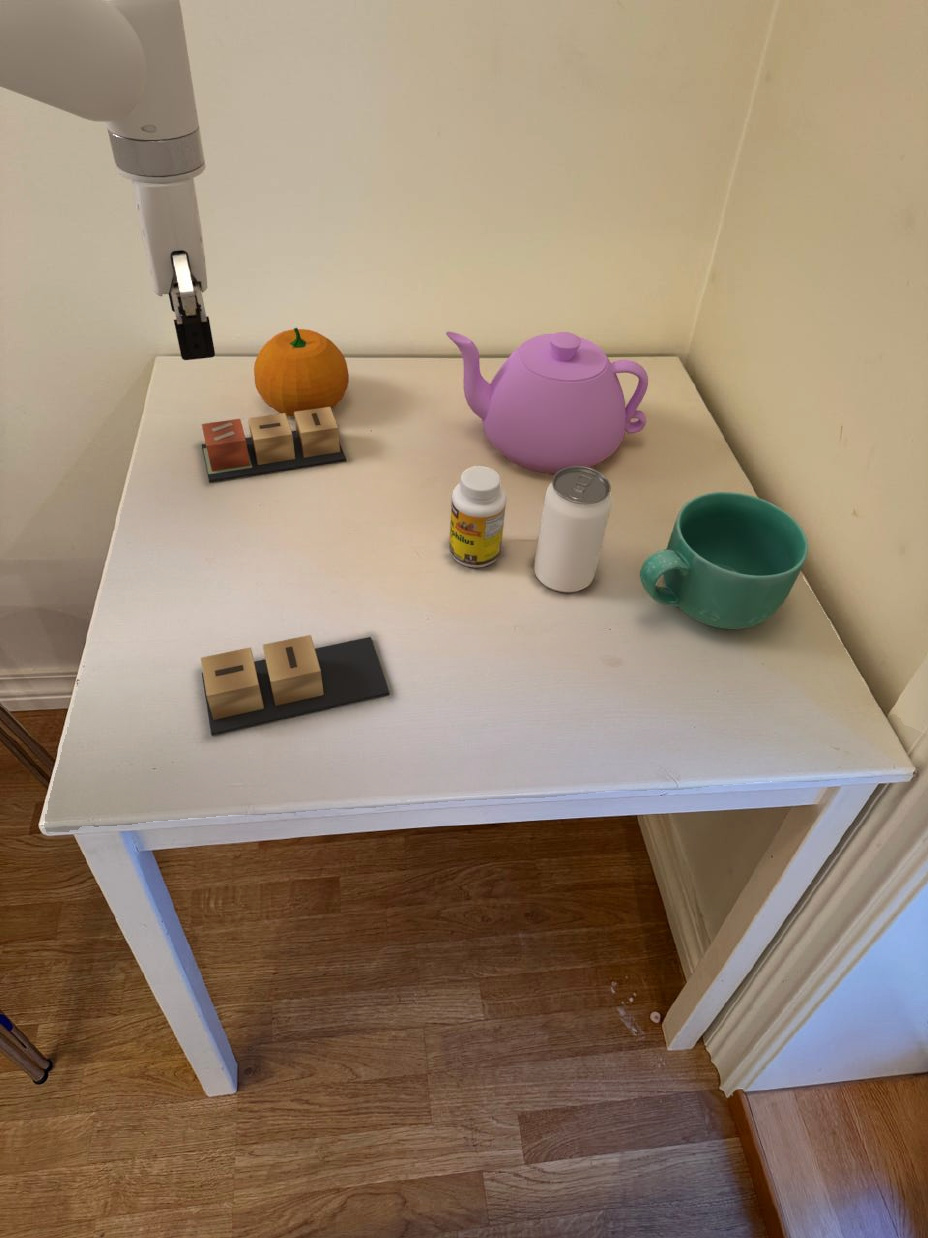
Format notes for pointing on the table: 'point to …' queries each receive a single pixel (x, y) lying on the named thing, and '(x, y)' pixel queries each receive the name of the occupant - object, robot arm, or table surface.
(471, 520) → the supplement bottle
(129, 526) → the table surface
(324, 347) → the fruit
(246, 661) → the wooden cube
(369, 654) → the front mat
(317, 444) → the pair of dash-marked blocks
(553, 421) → the teapot
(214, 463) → the striped orange cube
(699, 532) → the mug
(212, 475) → the back mat
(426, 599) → the table surface
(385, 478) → the table surface
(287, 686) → the wooden cube
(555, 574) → the can
